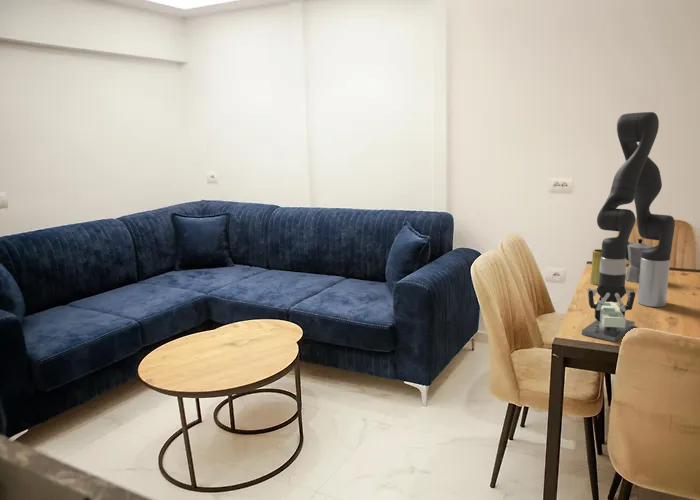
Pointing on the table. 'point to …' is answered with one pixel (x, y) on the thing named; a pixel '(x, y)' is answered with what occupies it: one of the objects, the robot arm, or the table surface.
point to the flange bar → (611, 315)
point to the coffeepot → (634, 260)
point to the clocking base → (607, 330)
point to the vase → (595, 266)
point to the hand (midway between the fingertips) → (609, 320)
